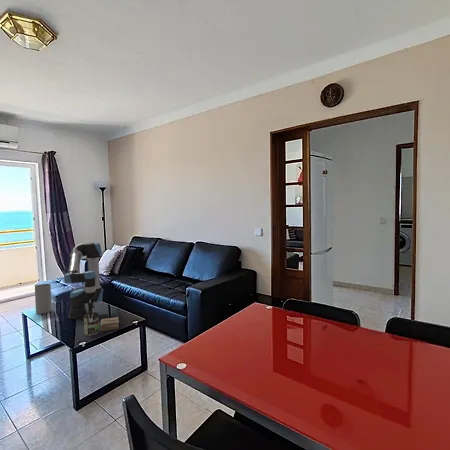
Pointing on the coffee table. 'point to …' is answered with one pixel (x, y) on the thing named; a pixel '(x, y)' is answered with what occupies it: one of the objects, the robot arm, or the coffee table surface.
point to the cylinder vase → (43, 298)
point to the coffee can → (91, 324)
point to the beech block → (109, 324)
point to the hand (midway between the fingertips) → (91, 319)
